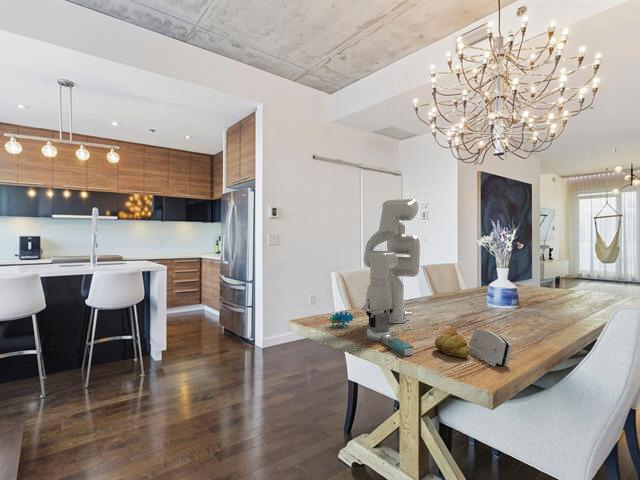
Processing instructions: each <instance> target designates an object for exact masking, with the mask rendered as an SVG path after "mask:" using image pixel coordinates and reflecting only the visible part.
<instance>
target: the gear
mask: <svg viewBox="0 0 640 480" xmlns="http://www.w3.org/2000/svg"><path fill="white" fill-rule="evenodd" d="M353 319H354V315H352V312H351V313H350V312H348V311H345V312H344V313H343V311H340V312H337V311H336V312H335V313H334V314H332V317H331V316H330V317H329V321H330V323H331V324H332V328H335V324H337V325H340V324H341V328H342V329H344V328H345V325H346V323H347V324H349V323H351V322H353Z"/></svg>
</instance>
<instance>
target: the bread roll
mask: <svg viewBox="0 0 640 480" xmlns="http://www.w3.org/2000/svg"><path fill="white" fill-rule="evenodd" d="M467 345H468V343H467V341H466V339H465V338H464V337H463V336H461V335H459V334H458V331H457V330H456V328H453V327H448V328H445V330H444V332H443V333H441V334H440V335H438V336H437V337H436V339H435V340H434V347H435V348H436V349H437V350H438V351H440V352H442V353H444V354H445V355H449V356H454V357H456V358H467V357H468V356H469V355H470V353H469V349H468V348H467Z"/></svg>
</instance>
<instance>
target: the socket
mask: <svg viewBox="0 0 640 480" xmlns="http://www.w3.org/2000/svg"><path fill="white" fill-rule="evenodd" d="M373 318H374V328H372V327H371V326H369V325H368V328H369V329H370V330H372V331H374V332H375V333H378V332H387V331H389V329H390V327H389V325H390V323H389V314H387V313H385V312H384V311H383V310H380V311H375V314H374V316H373Z"/></svg>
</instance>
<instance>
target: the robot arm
mask: <svg viewBox="0 0 640 480" xmlns="http://www.w3.org/2000/svg"><path fill="white" fill-rule="evenodd" d="M418 210H419V204H418V201H417V200H416V199H413V198H408V199H407V198H406V199H405V198H404V199H403V198H402V199H401V198H399V199H397V198H396V199H388V200H386V201H384V202H383V203H382V209H381V215H380V222H379V227H378V230H377V231H376V232H374V233H373V234H372V235H371V237H370V238H369V239H368V241H367V242H366V243H365V250H364V256H363V263H364V266H365V267H367V268H370V271H369V272H370V274H369V275H370V279H369V284H370V285H368V286H367V290H366V297H365V304H364V305H363V306H362V308H361V310H362V311H363V312H364V314H366V315H367V317H368V327H369V326H371V327H372V328H374V318H373V316H374V314H375V311H383V312H385V313H387V314H389V324H404V323H406V322H407V321H408V320H407V316H408V317H410V316H412V315H413V312H412V311H405V310H404V307H405V305H404V303H405V302H404V298H405V297H404V295H405V294H404V293H405V290H404V289H405V286H404V282H403V281H402V280H401V278H400V277H408V278H411V277H412V278H413V277H417V276H418V275H419V272H420V256H421V255H420V254H421V247H420V246H421V244H420V243H421V242H420V239H419V237H417V236H415V235H405V234H406V226H405V225H406V224H405V223H404V221H406V222H407V221H413V220H414V218H415V217H416V215H417V214H418ZM384 242H386V250H374V249H375V248H376V247H377V246H379V245H380V244H382V243H384ZM398 255H404V256H398ZM405 255H406V256H405ZM407 255H408V256H407Z"/></svg>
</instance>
